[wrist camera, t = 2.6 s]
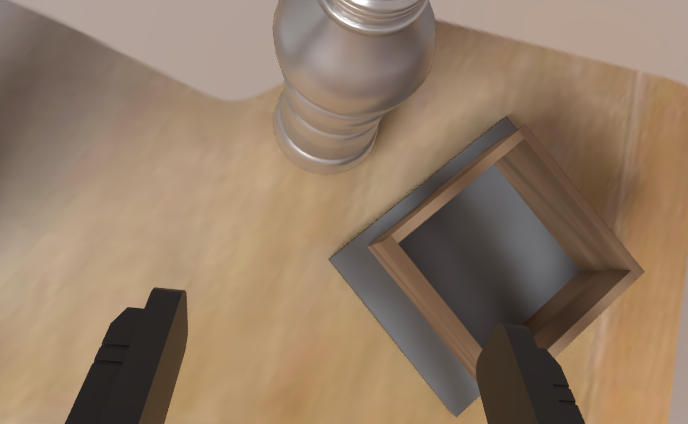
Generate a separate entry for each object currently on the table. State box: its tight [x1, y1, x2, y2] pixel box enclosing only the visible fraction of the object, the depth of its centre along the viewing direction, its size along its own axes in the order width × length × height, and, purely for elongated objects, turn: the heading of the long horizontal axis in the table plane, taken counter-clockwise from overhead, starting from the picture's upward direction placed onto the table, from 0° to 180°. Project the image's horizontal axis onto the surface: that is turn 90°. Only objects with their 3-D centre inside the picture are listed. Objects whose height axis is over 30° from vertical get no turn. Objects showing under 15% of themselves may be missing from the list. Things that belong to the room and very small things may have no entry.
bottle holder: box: [329, 116, 644, 417], centre depth 31 cm, size 16×13×6 cm
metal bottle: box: [273, 0, 436, 175], centre depth 24 cm, size 6×7×20 cm
